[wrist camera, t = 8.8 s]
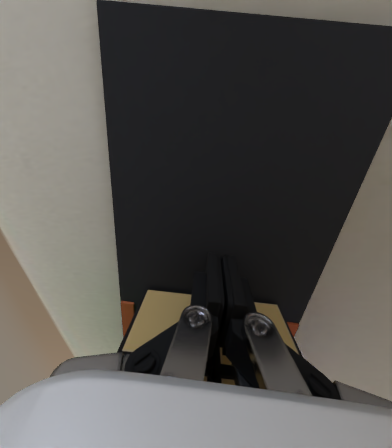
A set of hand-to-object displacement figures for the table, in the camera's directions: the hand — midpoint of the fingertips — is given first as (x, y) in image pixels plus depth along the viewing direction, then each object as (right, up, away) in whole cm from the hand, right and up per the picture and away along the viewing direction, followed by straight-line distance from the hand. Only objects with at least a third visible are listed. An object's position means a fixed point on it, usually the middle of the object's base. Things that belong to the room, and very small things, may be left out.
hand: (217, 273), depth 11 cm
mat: (0, -1, +2) cm, 2 cm away
